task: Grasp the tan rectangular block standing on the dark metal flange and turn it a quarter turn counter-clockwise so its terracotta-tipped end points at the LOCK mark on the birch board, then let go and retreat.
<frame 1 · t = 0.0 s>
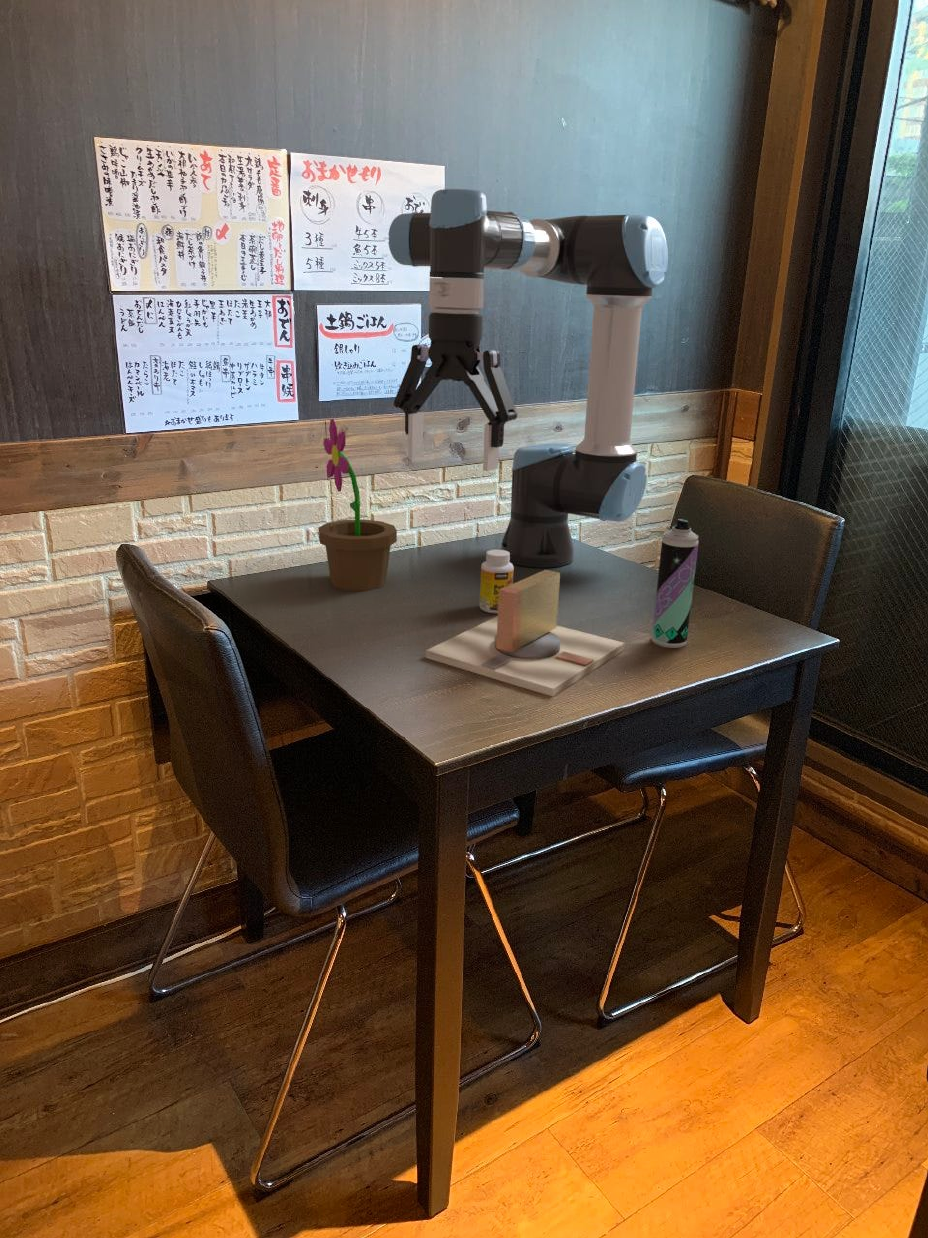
hand: (452, 463, 137), 28 cm above the table, fingers open, 13 cm apart
flowerpot: (358, 583, 173), on the table
tan rectangular block: (529, 610, 140), point 7 cm above the table, hinge at 0.0°
board: (526, 653, 142), on the table
supplement bottle: (495, 610, 161), on the table
spray can: (668, 642, 149), on the table
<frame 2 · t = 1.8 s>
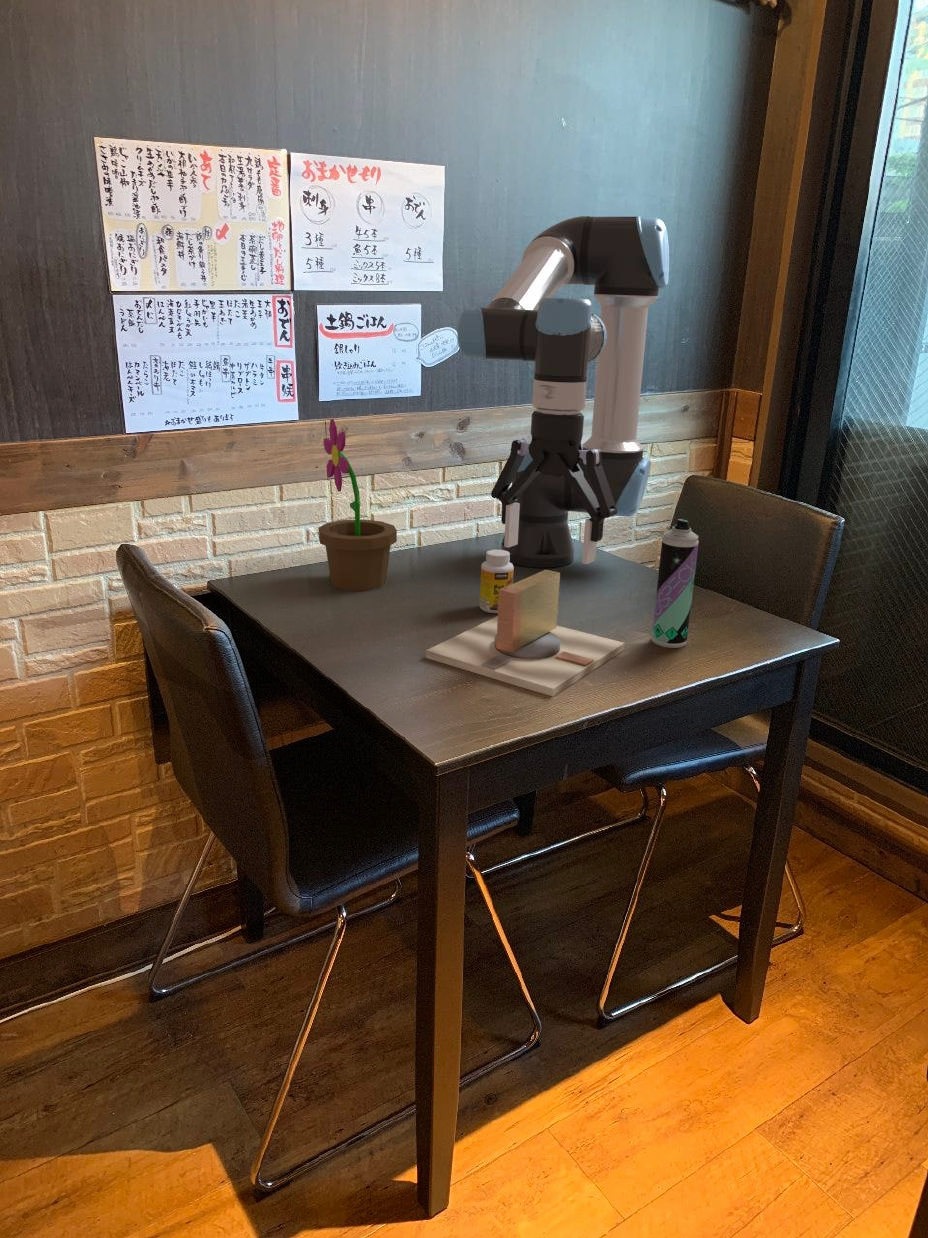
hand: (548, 553, 141), 15 cm above the table, fingers open, 13 cm apart
nothing on the table moved.
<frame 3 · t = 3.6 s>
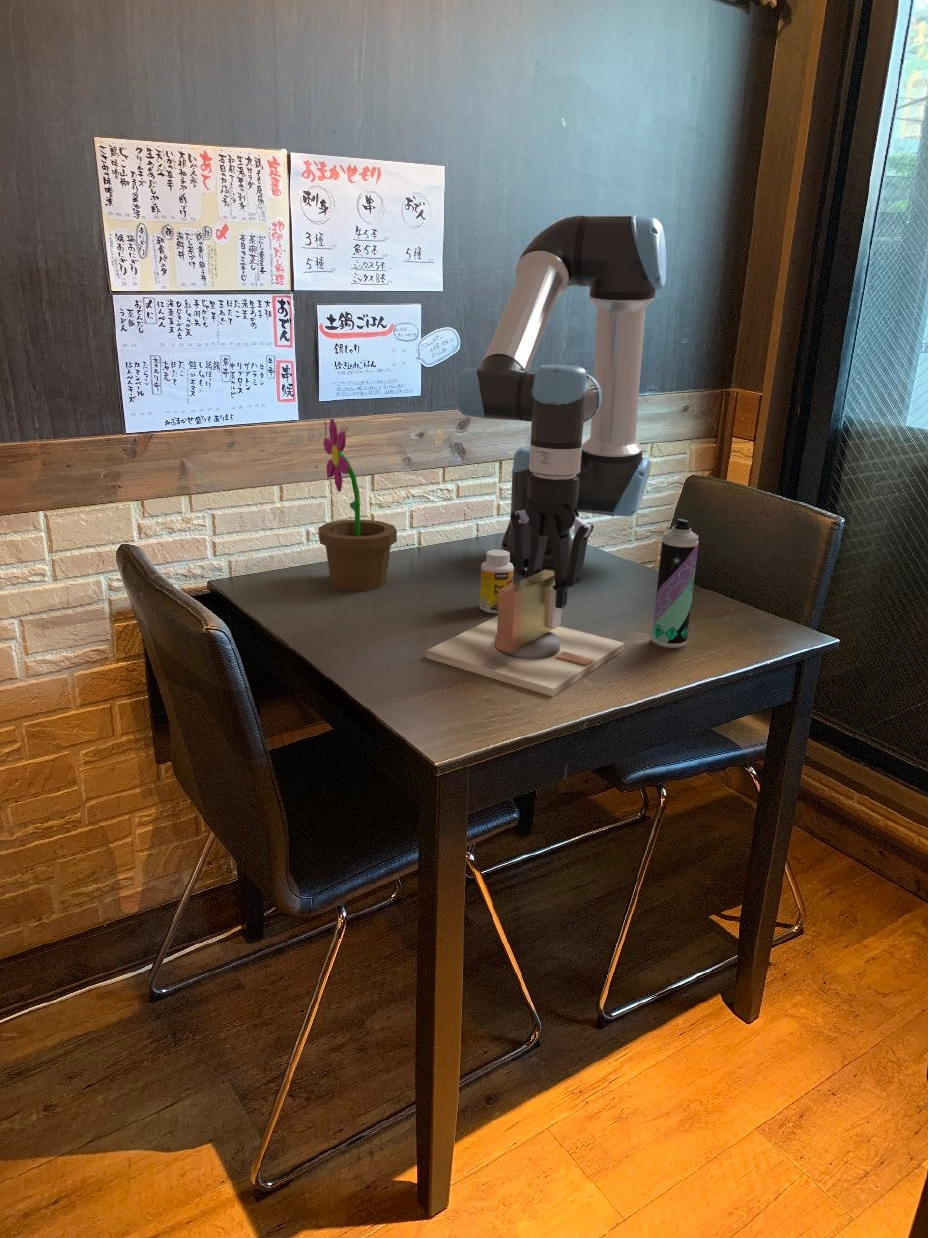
hand: (544, 623, 145), 4 cm above the table, fingers closed on tan rectangular block, 3 cm apart
tan rectangular block: (529, 610, 140), point 7 cm above the table, hinge at 0.0°, touching gripper
everything else where it was.
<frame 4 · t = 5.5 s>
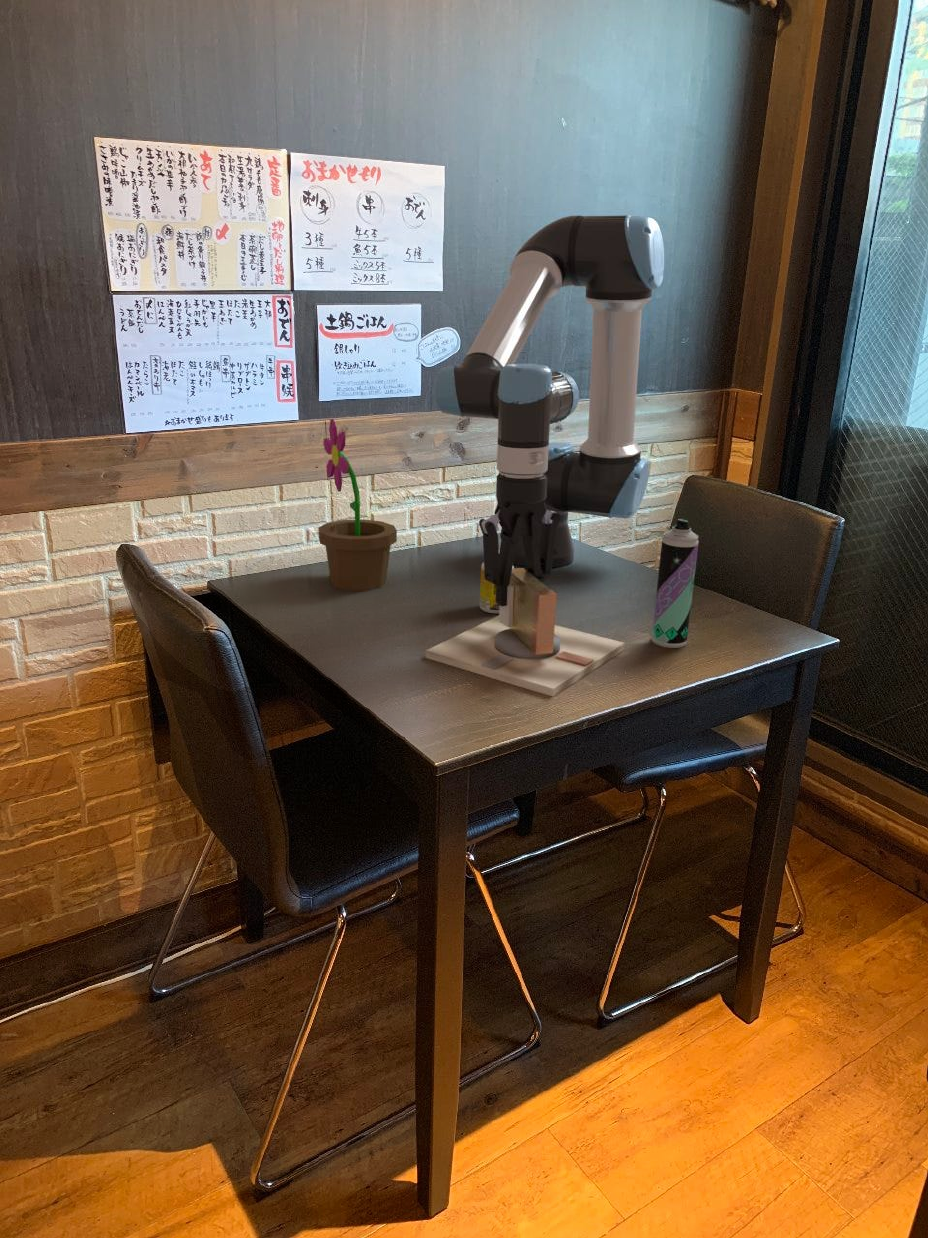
hand: (516, 621, 145), 4 cm above the table, fingers closed on tan rectangular block, 3 cm apart
tan rectangular block: (529, 610, 140), point 7 cm above the table, hinge at 53.3°, touching gripper
everything else where it was.
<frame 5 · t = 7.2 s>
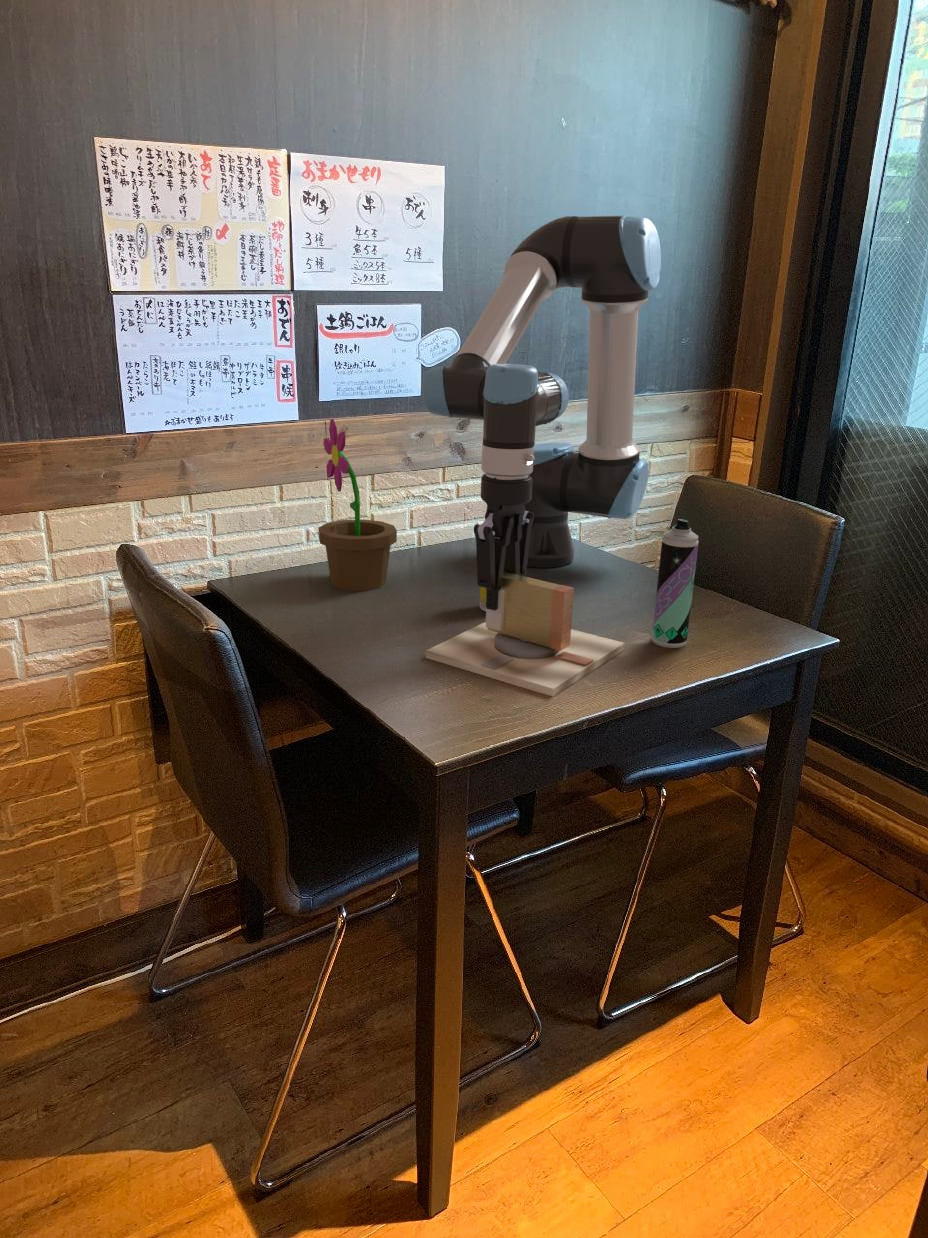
hand: (500, 624, 144), 4 cm above the table, fingers closed on tan rectangular block, 3 cm apart
tan rectangular block: (529, 610, 140), point 7 cm above the table, hinge at 89.1°, touching gripper
everything else where it was.
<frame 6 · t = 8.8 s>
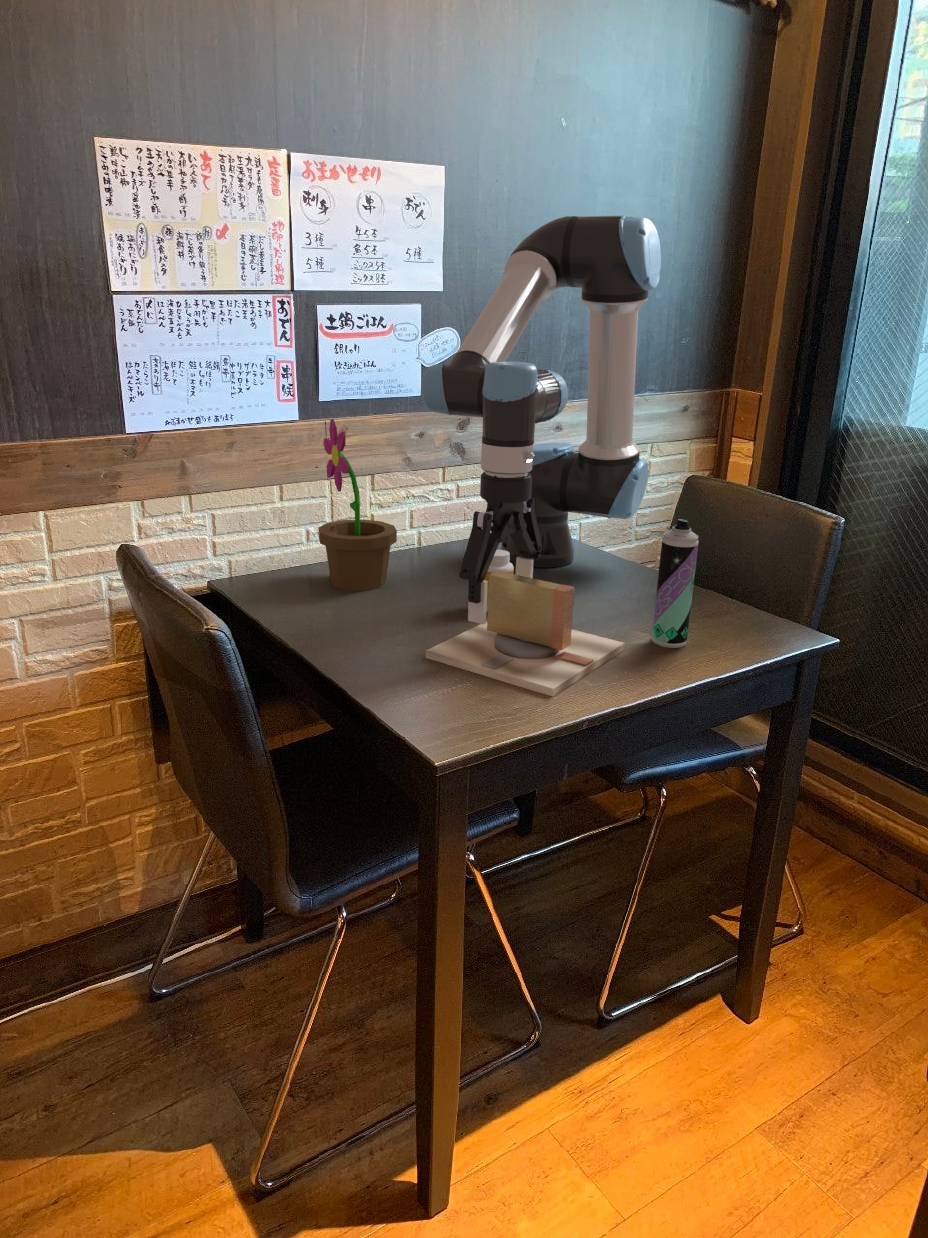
hand: (500, 609, 143), 6 cm above the table, fingers open, 13 cm apart
tan rectangular block: (529, 610, 140), point 7 cm above the table, hinge at 91.6°
everything else where it was.
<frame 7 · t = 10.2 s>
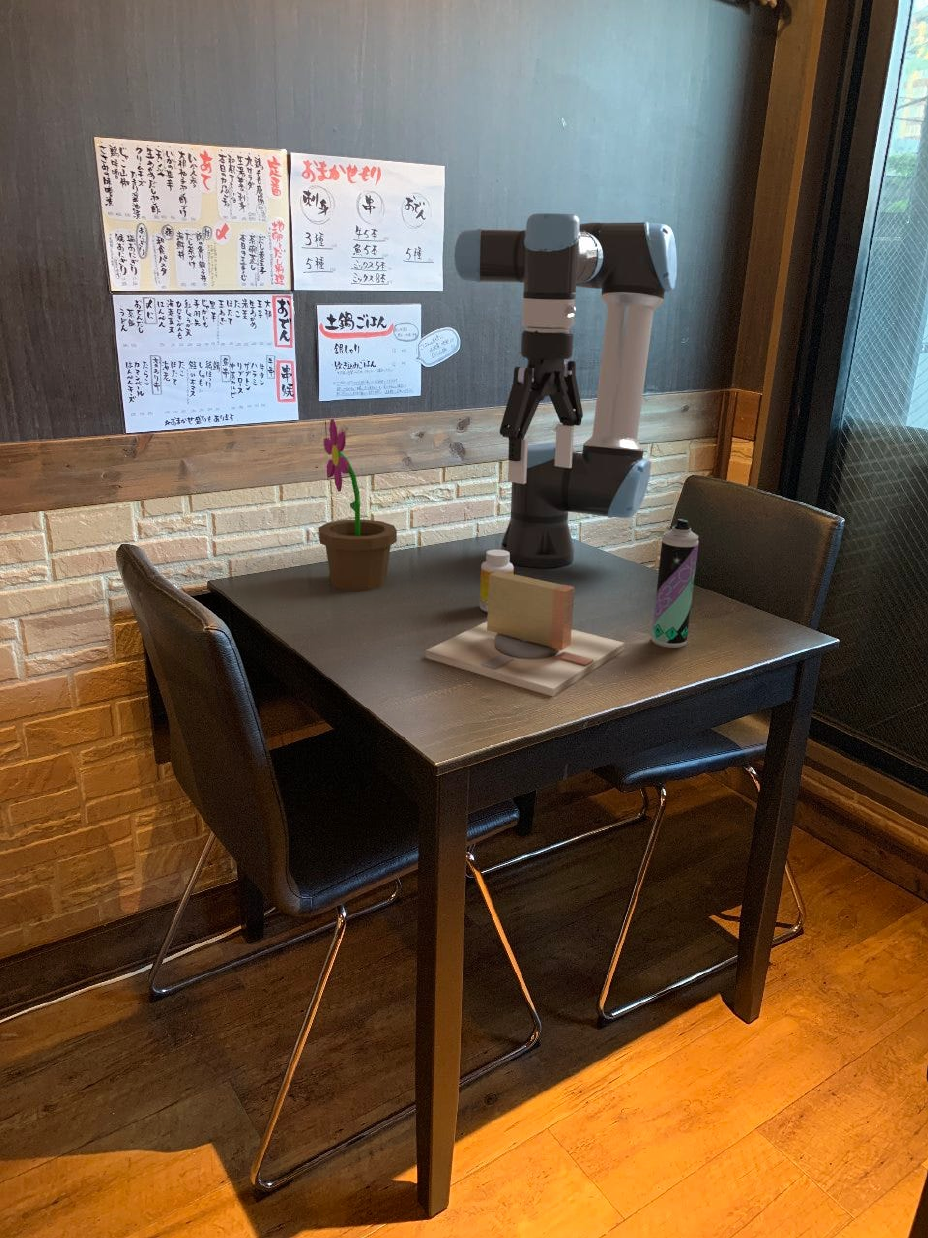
hand: (540, 474, 143), 26 cm above the table, fingers open, 13 cm apart
nothing on the table moved.
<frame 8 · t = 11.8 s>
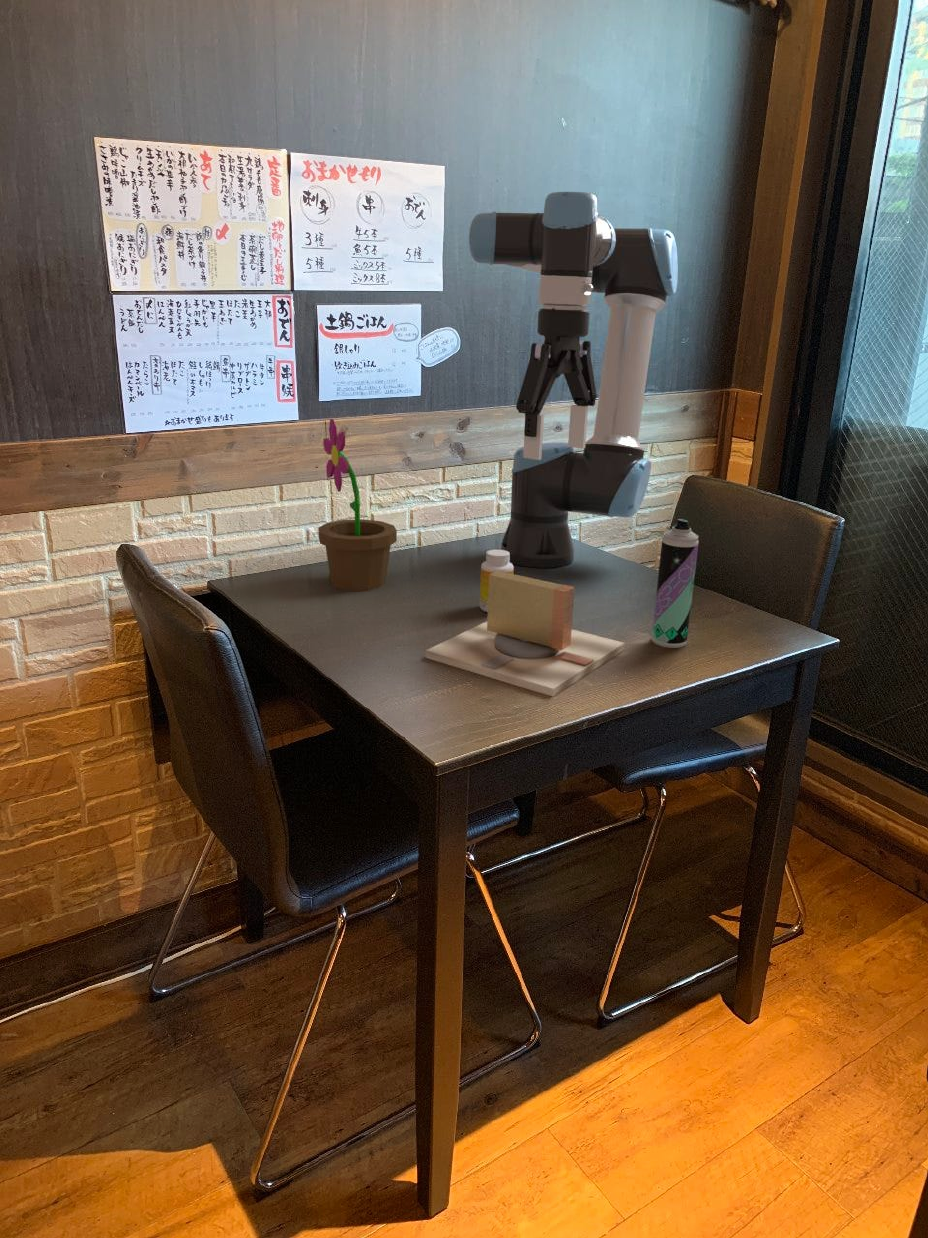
hand: (555, 452, 144), 29 cm above the table, fingers open, 13 cm apart
nothing on the table moved.
at the end: tan rectangular block at +92° (first picture: +0°); the gripper is holding nothing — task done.
